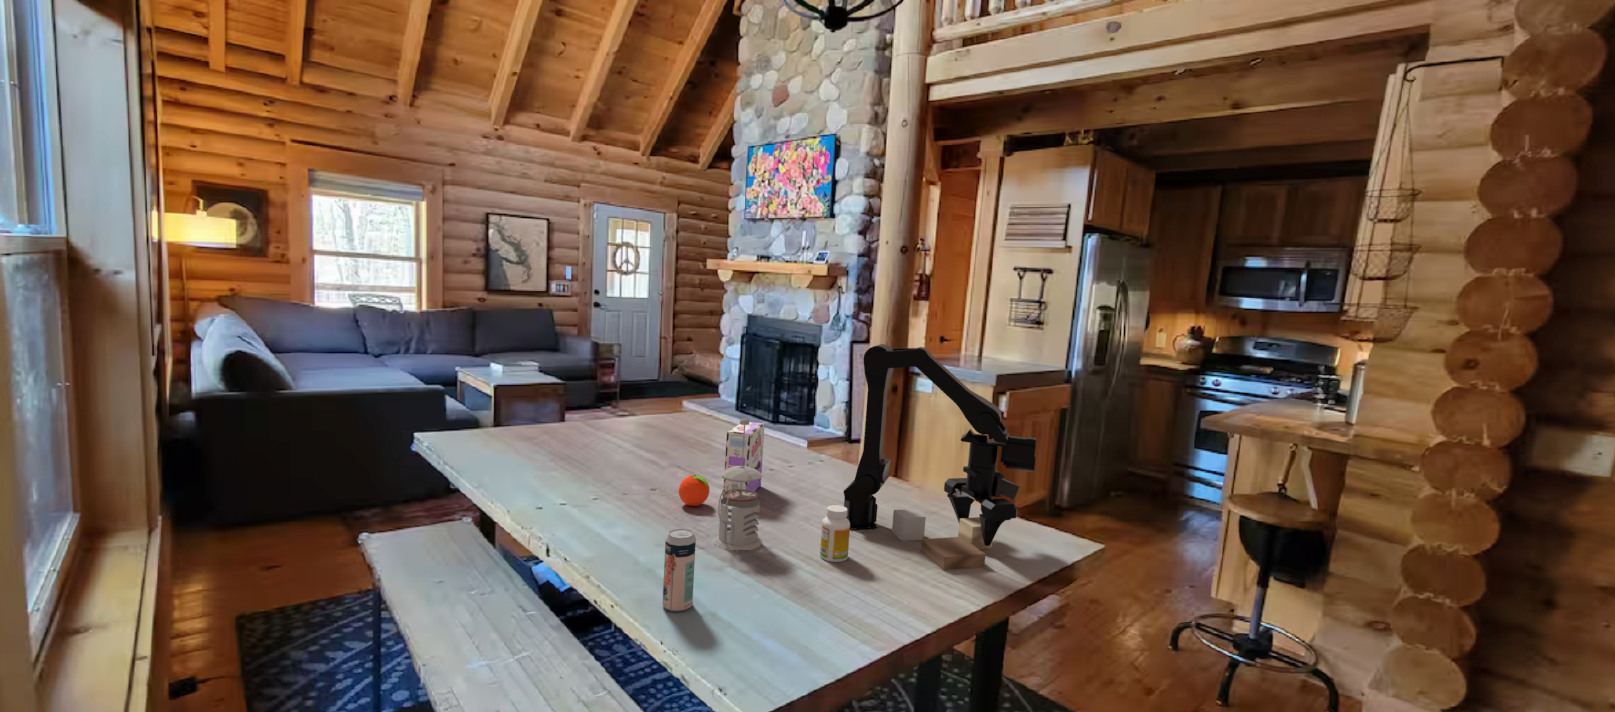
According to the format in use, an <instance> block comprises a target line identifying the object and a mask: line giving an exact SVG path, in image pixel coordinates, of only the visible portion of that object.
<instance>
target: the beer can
mask: <svg viewBox="0 0 1615 712" xmlns="http://www.w3.org/2000/svg"><path fill="white" fill-rule="evenodd" d="M664 542H665V546H664V565H663V585H662V586H663V589H662V606H663V608H665V609H667V610H668V611H670V612H675V613H676V612H677V613H678V612H684V611H686V610H688V609H690V608H691V607H692V606H693V604H694V600H693V599H694V597H693V596H694V581H695V580H694V579H695V563H696V542H697V538H696V535H695V532H694V531H692V530H691V529H688V528H687V529H686V528H676V529H675V528H673V530H669V532H668V534H667V535H666V536H665V539H664Z"/></svg>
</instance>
